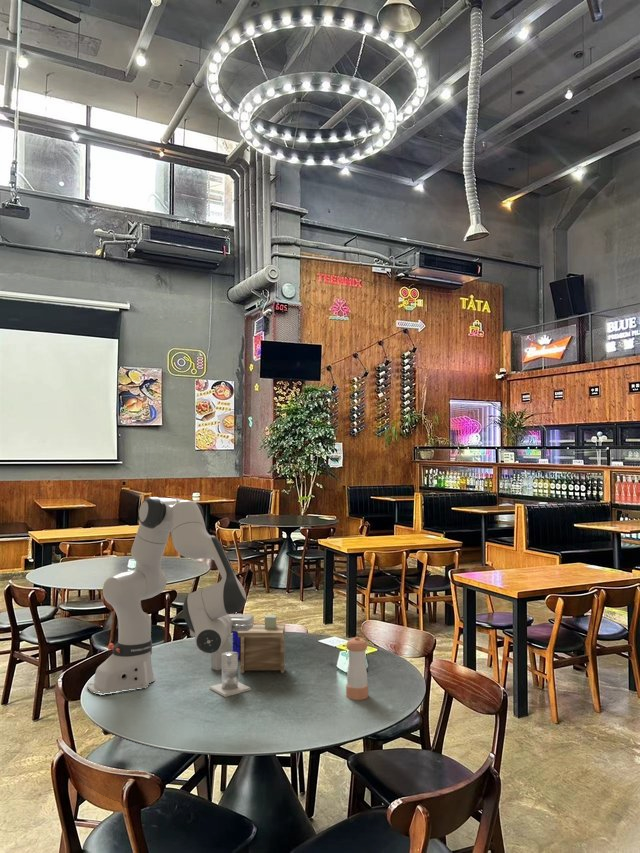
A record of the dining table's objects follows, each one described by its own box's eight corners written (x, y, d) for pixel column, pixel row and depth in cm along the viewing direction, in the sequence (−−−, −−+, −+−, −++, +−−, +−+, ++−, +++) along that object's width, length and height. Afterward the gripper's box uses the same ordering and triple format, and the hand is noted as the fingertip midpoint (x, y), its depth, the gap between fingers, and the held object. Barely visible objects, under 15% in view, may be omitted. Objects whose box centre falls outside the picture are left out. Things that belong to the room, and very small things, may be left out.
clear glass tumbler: (227, 691, 206) (227, 657, 206) (218, 686, 210) (218, 653, 211) (241, 687, 209) (241, 654, 210) (232, 683, 214) (232, 650, 214)
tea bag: (231, 666, 235) (231, 639, 235) (217, 670, 229) (217, 643, 230) (224, 664, 237) (225, 637, 238) (211, 668, 232) (211, 641, 233)
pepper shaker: (350, 701, 199) (349, 640, 200) (343, 693, 206) (343, 634, 207) (371, 698, 201) (370, 638, 202) (363, 691, 208) (363, 633, 209)
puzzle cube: (232, 653, 250) (232, 628, 251) (255, 650, 255) (255, 626, 255) (239, 660, 241) (239, 634, 242) (263, 657, 246) (264, 631, 246)
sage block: (275, 628, 226) (275, 617, 226) (264, 628, 226) (264, 617, 226) (276, 625, 230) (276, 614, 230) (265, 625, 230) (265, 614, 230)
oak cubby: (282, 680, 219) (282, 632, 220) (237, 680, 219) (238, 632, 220) (284, 669, 231) (284, 624, 232) (242, 669, 231) (242, 624, 232)
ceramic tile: (224, 697, 203) (224, 694, 203) (209, 688, 210) (209, 686, 210) (250, 690, 209) (250, 687, 209) (234, 682, 217) (234, 679, 217)
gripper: (252, 617, 189) (256, 606, 203) (185, 615, 190) (195, 605, 203) (251, 638, 189) (256, 626, 203) (185, 636, 189) (194, 624, 203)
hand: (225, 615), depth 203 cm, fingers open, 8 cm apart
